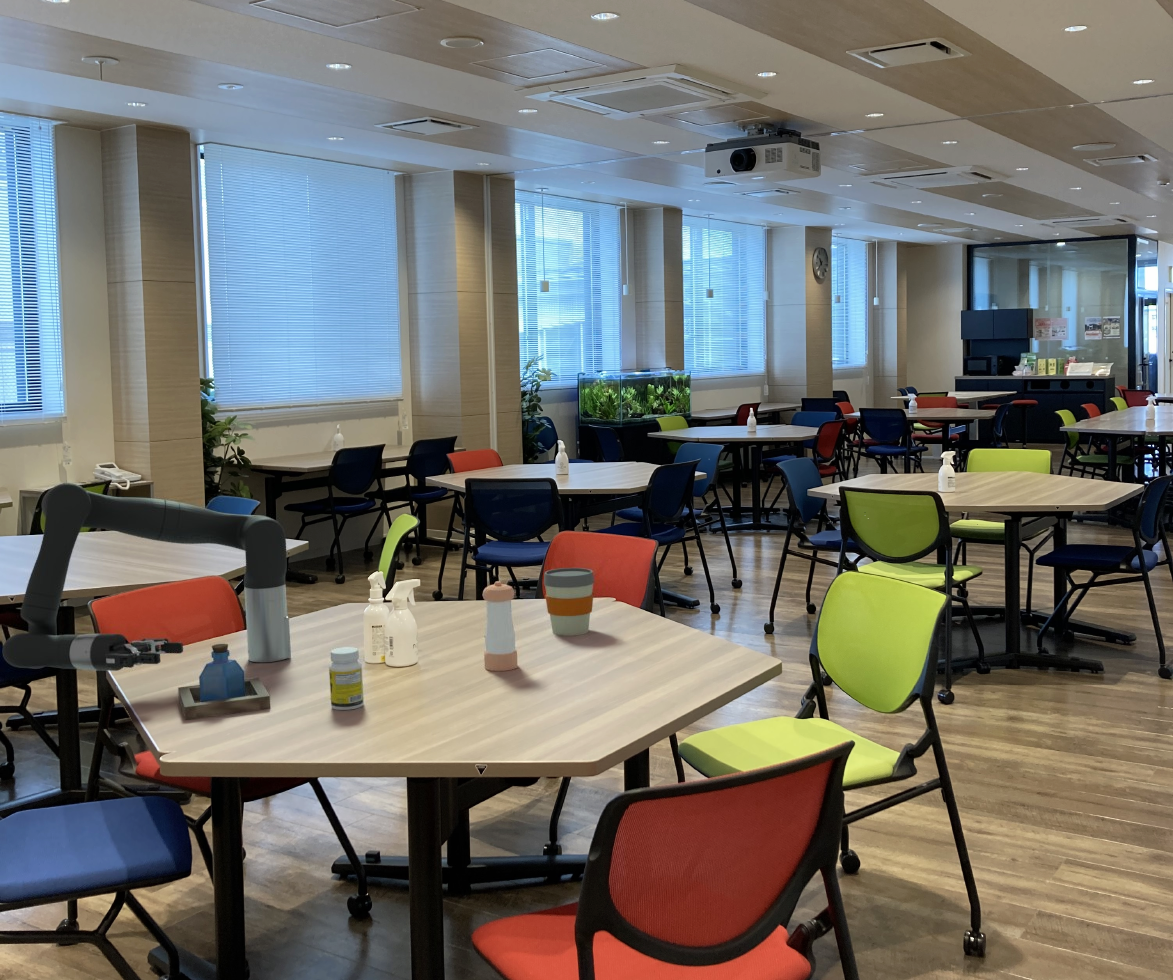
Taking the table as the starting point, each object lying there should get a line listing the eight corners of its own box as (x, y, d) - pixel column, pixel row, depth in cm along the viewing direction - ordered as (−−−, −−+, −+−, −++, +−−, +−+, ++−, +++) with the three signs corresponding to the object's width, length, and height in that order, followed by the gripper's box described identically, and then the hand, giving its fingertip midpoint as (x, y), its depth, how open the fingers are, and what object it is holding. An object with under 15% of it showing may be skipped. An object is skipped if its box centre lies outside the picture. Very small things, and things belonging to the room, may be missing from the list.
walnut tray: (259, 689, 247) (258, 677, 247) (270, 708, 233) (269, 695, 232) (178, 699, 241) (178, 687, 241) (185, 719, 226) (184, 707, 226)
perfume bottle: (245, 700, 239) (242, 642, 238) (227, 709, 233) (224, 649, 232) (219, 698, 241) (216, 641, 239) (201, 707, 235) (197, 648, 234)
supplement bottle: (335, 701, 236) (332, 646, 235) (367, 701, 236) (364, 645, 234) (327, 711, 229) (324, 654, 228) (359, 710, 229) (357, 653, 228)
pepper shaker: (477, 667, 260) (474, 582, 258) (501, 661, 265) (498, 577, 263) (500, 672, 255) (497, 585, 253) (524, 666, 260) (521, 580, 258)
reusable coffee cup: (605, 628, 295) (603, 569, 294) (578, 639, 285) (576, 577, 283) (563, 624, 302) (561, 566, 300) (535, 634, 291) (533, 574, 290)
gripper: (76, 642, 235) (150, 643, 232) (118, 626, 249) (188, 626, 246) (79, 679, 236) (153, 680, 233) (121, 661, 250) (190, 662, 247)
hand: (170, 652), depth 239 cm, fingers open, 8 cm apart
